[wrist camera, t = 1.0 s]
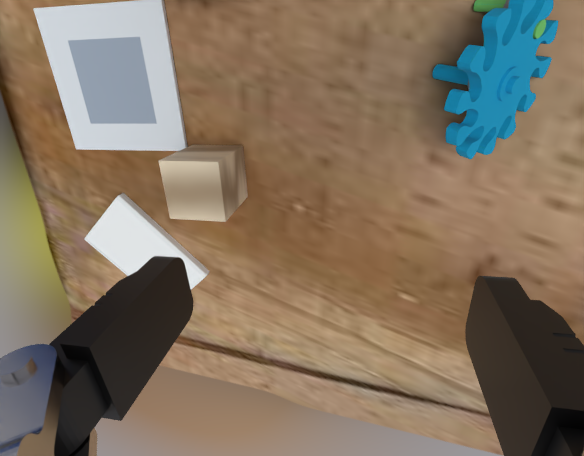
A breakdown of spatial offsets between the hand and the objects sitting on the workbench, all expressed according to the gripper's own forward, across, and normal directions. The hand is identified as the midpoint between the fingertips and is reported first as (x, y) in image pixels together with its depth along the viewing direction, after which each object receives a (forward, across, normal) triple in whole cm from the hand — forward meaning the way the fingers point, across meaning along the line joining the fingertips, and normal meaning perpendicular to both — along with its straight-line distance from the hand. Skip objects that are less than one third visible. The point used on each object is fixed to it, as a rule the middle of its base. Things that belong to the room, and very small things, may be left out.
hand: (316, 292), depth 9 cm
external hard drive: (+22, +22, +13) cm, 34 cm away
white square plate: (+22, +21, -5) cm, 31 cm away
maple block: (+22, +12, +3) cm, 25 cm away
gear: (+22, -10, -4) cm, 25 cm away
